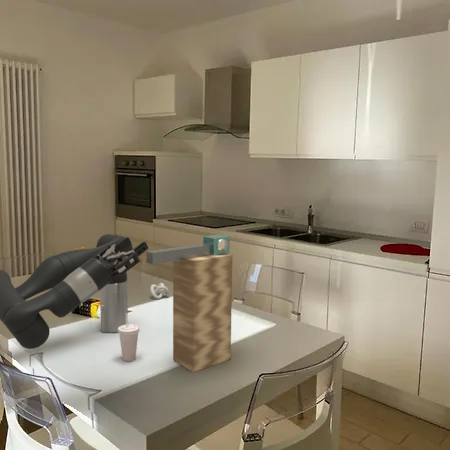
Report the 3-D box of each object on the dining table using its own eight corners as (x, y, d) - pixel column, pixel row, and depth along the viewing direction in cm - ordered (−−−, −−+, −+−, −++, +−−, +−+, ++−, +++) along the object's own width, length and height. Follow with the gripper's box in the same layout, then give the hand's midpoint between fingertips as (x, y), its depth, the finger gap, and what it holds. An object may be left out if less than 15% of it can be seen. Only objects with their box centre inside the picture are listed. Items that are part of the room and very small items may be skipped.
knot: (171, 295, 209) (171, 282, 208) (166, 300, 201) (166, 287, 200) (155, 294, 210) (154, 281, 209) (149, 299, 202) (148, 286, 201)
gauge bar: (155, 265, 124) (155, 246, 123) (144, 261, 128) (144, 243, 127) (230, 253, 141) (230, 236, 140) (218, 250, 145) (218, 234, 144)
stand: (193, 372, 134) (194, 261, 130) (173, 360, 142) (173, 255, 137) (230, 359, 143) (232, 255, 139) (209, 348, 151) (210, 249, 146)
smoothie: (119, 354, 145) (119, 310, 143) (140, 354, 146) (140, 310, 144) (116, 363, 139) (116, 317, 137) (138, 363, 140) (138, 317, 138)
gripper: (92, 274, 108) (145, 233, 116) (67, 263, 119) (117, 227, 127) (107, 299, 111) (158, 258, 119) (82, 286, 122) (130, 249, 130)
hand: (137, 242), depth 123 cm, fingers open, 8 cm apart
